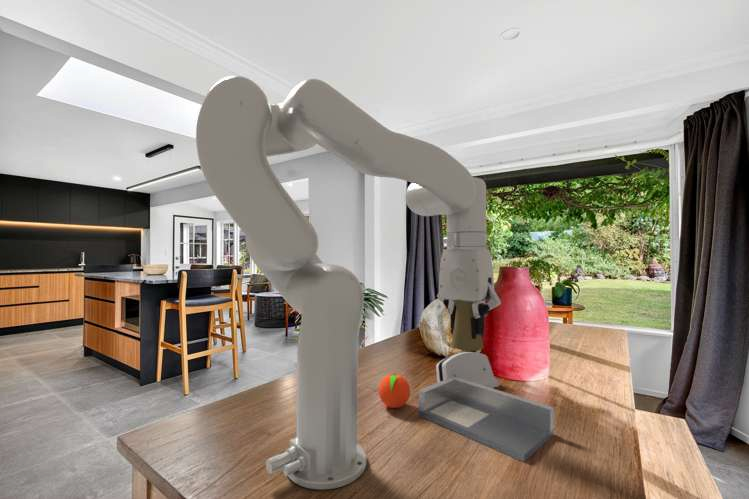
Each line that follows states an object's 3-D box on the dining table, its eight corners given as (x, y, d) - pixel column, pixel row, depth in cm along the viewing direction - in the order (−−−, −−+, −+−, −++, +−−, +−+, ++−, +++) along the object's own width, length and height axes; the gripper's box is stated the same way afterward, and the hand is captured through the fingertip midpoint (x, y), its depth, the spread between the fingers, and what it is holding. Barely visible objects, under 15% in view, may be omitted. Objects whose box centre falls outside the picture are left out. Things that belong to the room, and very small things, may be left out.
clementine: (407, 417, 72) (407, 382, 72) (374, 414, 74) (374, 379, 74) (411, 401, 80) (412, 370, 80) (381, 398, 82) (382, 367, 82)
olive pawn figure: (462, 340, 74) (462, 287, 74) (489, 346, 69) (488, 290, 69) (445, 346, 70) (444, 290, 70) (472, 352, 65) (471, 293, 65)
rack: (524, 462, 58) (524, 429, 58) (418, 415, 73) (418, 390, 73) (554, 434, 67) (554, 406, 67) (454, 398, 82) (454, 375, 82)
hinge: (452, 401, 81) (443, 356, 84) (439, 401, 85) (430, 358, 88) (501, 387, 90) (491, 347, 93) (487, 387, 94) (477, 349, 97)
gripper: (421, 242, 73) (421, 331, 73) (495, 241, 61) (495, 348, 61) (443, 242, 78) (444, 325, 78) (516, 241, 66) (517, 340, 66)
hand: (466, 334), depth 70 cm, fingers closed on olive pawn figure, 3 cm apart
